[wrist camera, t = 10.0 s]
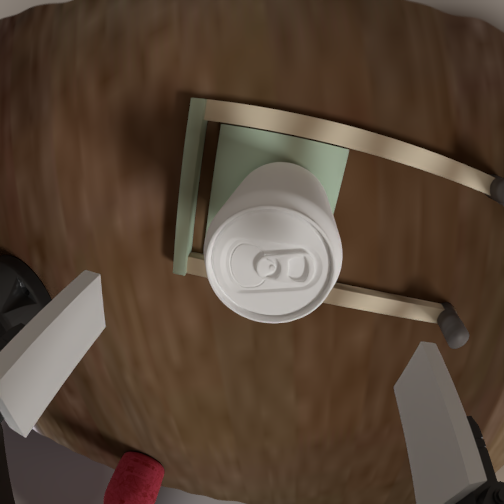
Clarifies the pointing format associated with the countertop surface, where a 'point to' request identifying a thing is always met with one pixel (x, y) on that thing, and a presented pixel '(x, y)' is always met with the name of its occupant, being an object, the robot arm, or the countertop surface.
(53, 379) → the robot arm
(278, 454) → the countertop surface
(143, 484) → the wine bottle
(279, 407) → the countertop surface
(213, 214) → the bay
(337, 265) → the beverage can
